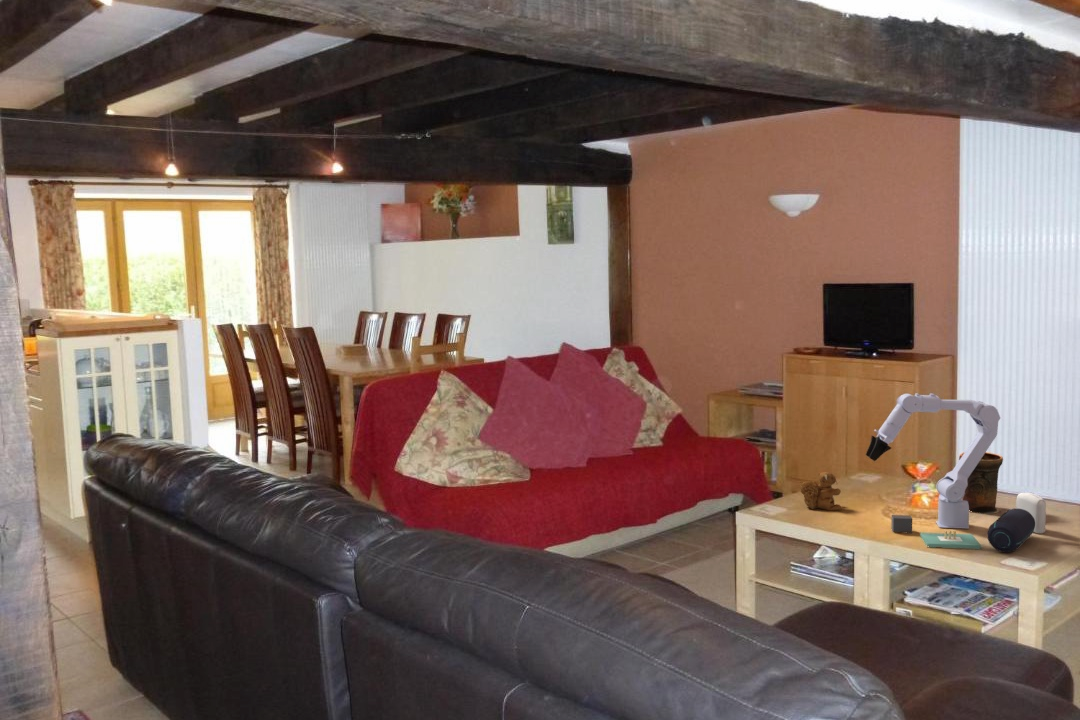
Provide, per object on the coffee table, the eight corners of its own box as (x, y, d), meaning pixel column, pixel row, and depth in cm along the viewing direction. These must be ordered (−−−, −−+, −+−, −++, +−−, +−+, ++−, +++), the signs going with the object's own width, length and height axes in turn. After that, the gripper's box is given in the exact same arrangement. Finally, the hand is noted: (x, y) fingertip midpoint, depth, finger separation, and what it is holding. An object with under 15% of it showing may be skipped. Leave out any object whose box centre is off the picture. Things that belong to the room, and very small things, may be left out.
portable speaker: (1004, 533, 314) (1005, 503, 313) (1037, 538, 308) (1038, 508, 306) (983, 552, 295) (984, 521, 294) (1018, 558, 288) (1019, 526, 287)
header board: (971, 537, 309) (972, 526, 309) (981, 549, 297) (981, 537, 297) (920, 536, 312) (920, 525, 312) (927, 547, 301) (927, 535, 300)
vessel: (990, 502, 350) (992, 450, 348) (1008, 514, 336) (1010, 459, 333) (951, 503, 351) (952, 451, 348) (967, 515, 336) (969, 460, 334)
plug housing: (909, 529, 320) (910, 515, 319) (912, 533, 316) (912, 518, 315) (891, 529, 321) (891, 514, 320) (893, 532, 317) (893, 518, 316)
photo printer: (1013, 526, 321) (1014, 490, 320) (1024, 524, 322) (1025, 489, 321) (1036, 534, 311) (1037, 497, 310) (1047, 533, 312) (1048, 496, 311)
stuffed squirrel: (843, 510, 345) (844, 475, 344) (805, 511, 345) (805, 476, 344) (835, 503, 355) (835, 469, 354) (797, 504, 355) (798, 470, 354)
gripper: (879, 416, 328) (856, 448, 330) (886, 420, 314) (863, 454, 316) (897, 428, 327) (874, 460, 329) (905, 432, 313) (881, 465, 315)
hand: (870, 458), depth 322 cm, fingers open, 7 cm apart
